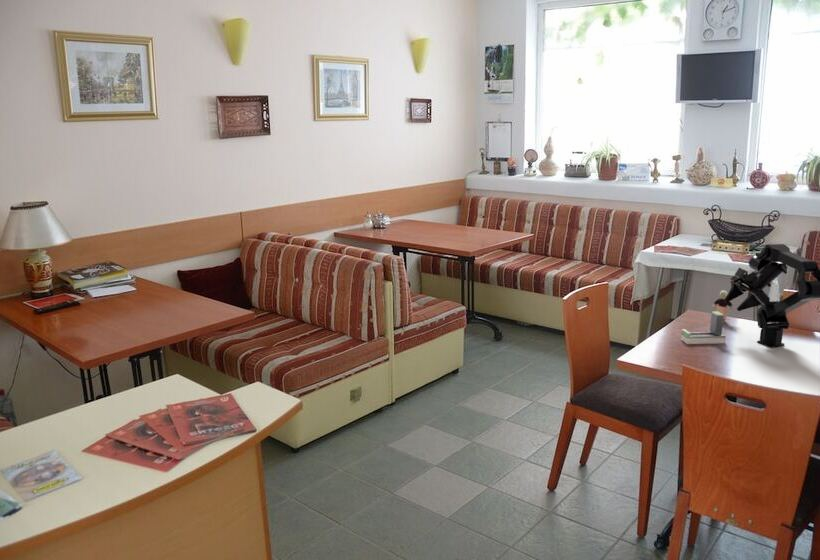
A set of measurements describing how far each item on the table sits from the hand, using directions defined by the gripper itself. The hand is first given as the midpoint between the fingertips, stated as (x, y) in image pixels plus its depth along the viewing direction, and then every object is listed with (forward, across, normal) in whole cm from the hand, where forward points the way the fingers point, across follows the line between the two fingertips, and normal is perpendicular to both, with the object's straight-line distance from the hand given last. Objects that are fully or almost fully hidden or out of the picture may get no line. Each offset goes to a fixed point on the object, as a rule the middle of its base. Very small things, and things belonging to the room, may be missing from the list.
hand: (731, 305), depth 251 cm
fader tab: (+11, +2, +4) cm, 12 cm away
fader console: (+16, +2, +2) cm, 16 cm away
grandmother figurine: (+4, -22, +17) cm, 28 cm away
